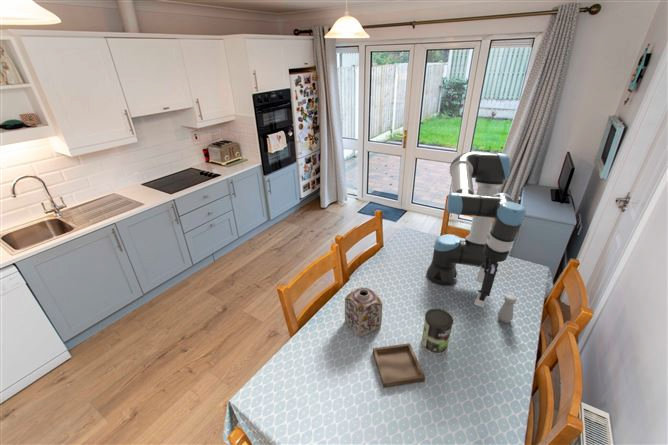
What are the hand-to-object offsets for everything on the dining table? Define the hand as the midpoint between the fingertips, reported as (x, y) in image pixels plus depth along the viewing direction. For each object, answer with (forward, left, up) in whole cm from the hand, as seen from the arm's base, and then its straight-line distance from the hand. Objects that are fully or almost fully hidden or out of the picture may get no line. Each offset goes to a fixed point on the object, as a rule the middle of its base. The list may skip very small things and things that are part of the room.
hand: (478, 292), depth 115 cm
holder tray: (+8, -32, -24) cm, 41 cm away
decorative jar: (-15, -40, -24) cm, 49 cm away
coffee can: (0, -14, -24) cm, 28 cm away
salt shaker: (-7, +21, -24) cm, 32 cm away
